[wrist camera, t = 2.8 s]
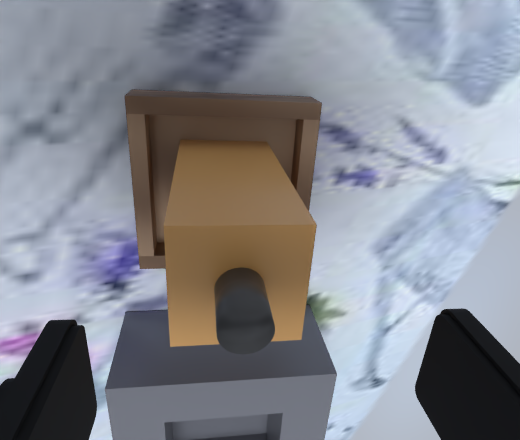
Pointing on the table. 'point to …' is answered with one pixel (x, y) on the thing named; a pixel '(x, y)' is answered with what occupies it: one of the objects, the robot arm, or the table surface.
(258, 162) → the plug
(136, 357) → the socket block
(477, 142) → the table surface
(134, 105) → the tray
